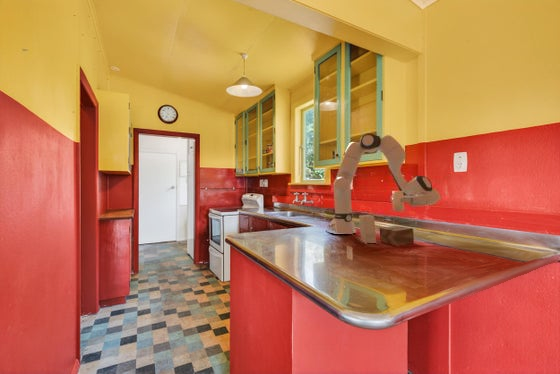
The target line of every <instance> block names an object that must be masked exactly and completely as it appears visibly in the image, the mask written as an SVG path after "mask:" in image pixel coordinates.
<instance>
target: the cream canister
mask: <svg viewBox="0 0 560 374" xmlns="http://www.w3.org/2000/svg"><path fill="white" fill-rule="evenodd" d="M391 192H392V195H391V196H393V202H392V211H393V212H404V211H405V203H404V202H401V199H404V198H403V191H400V190H394V191H393V190H392V191H391Z"/></svg>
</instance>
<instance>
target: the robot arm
mask: <svg viewBox="0 0 560 374" xmlns="http://www.w3.org/2000/svg"><path fill="white" fill-rule="evenodd" d="M378 151H379V152H381V153H382V154H383V156H384V157H385V159H386V160H387V163H388V171H389V172H390V174H391V176H392V178H393V180H394V182H395V184H396V187H398V191H403V198H404V199H401V202H404V204H409V205H410V206H411V207H422V206H431V205H434V204H437V203H438V202H439V200H440V198H441V196H440V195H441V194H440V193H439V191H438V190H436V189H435V188H433V185H432V182H431V180H430V179H429V178H428V177H426V176H424V175H417V176H415V177H414V178H411V180H410V181H408V182H407V181H406V179H405V178H404V175H403V173H402V172H401V171H402V170H401V168H402V166H403V164H404V162H405V159H406V155H407V154H406V151H405V149H404V148H403V146H402V145H401V144H400V143H399V141H397V139H395V138H394V137H393V136H391V135H389V134H386V135H383V136H382V137H381V136H379V135H376V134H374V133H365V134H363V135H362V136H361V138H360V139H359V142H358V141H352V142H350V143H349V144H348V146H347V147H346V149H345V152H344V155H343V157H342V159H341V161H340V162H341V163H340V165H339V168H338V170H337V174H336V176H335V177H336V178H335V179H334V180H333V184H332V185H333V196H334V213H333V219H332V220H331V221H330V222H329V224H328V229H330V230H332V231H335V232H337V233H355V234H356V233H357V230H356V226H355V220H354V219H353V217H354V216H353V212H352V210H353V209H352V190H351V189H352V186H351V184H352V183H353V179H354V177H355V174H356V172H357V169H358V166H359V164H360V161H361V158H362V156H363V154H367V155H368V154H375V153H377V152H378ZM390 202H391V203H393V195H391V196H390Z"/></svg>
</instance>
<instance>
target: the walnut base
mask: <svg viewBox="0 0 560 374" xmlns="http://www.w3.org/2000/svg"><path fill="white" fill-rule="evenodd" d="M379 240H380V241H381V242H380V241H379V242H380V243H383V242H385V243H384V244H387V243H389V244H388V245H390V244H392V246H394V245H396V246H395V247H399V246H400V245H401V246H406V245H411V244H415V243H414V228H412V227H406V226H399V225H392V226H384V227H383V226H382V227H379Z"/></svg>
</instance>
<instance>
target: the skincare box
mask: <svg viewBox="0 0 560 374" xmlns="http://www.w3.org/2000/svg"><path fill="white" fill-rule="evenodd" d="M358 223H359V232H360V241H361V240H362V241H363V242H365V243H376V244H377V235H376V225H375V223H376V222H375V216H374V215H372V214H360V215H358ZM363 242H362V243H363Z"/></svg>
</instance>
